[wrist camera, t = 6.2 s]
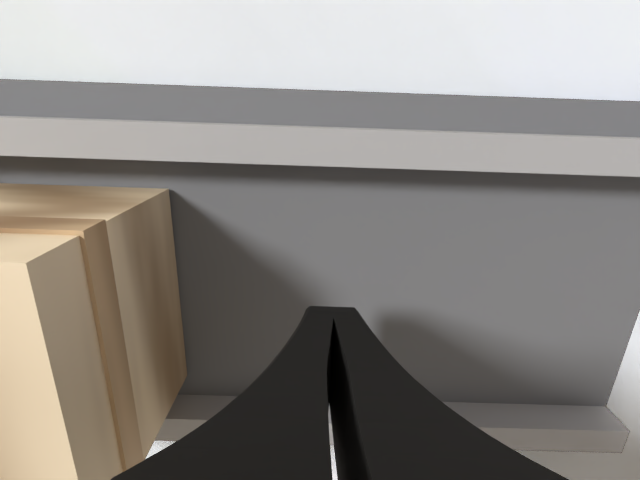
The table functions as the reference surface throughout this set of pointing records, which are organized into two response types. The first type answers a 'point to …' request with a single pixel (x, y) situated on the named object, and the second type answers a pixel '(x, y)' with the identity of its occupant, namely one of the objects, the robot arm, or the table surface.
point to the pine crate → (85, 329)
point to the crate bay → (376, 234)
